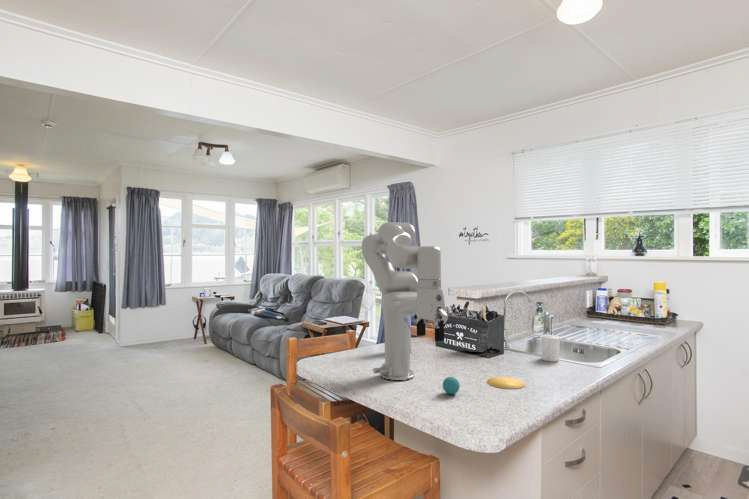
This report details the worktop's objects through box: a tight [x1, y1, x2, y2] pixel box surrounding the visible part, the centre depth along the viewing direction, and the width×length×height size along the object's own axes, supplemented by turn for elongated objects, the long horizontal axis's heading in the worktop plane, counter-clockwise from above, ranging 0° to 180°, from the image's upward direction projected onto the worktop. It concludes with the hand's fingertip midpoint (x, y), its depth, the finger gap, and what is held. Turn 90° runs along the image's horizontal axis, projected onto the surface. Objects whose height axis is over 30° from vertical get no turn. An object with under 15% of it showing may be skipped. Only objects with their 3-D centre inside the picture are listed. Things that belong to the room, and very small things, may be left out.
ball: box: [442, 376, 461, 395], centre depth 136 cm, size 6×6×6 cm
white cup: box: [539, 333, 561, 362], centre depth 178 cm, size 8×8×10 cm
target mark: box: [486, 376, 526, 390], centre depth 147 cm, size 13×13×1 cm
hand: (430, 338), depth 132 cm, fingers open, 9 cm apart
